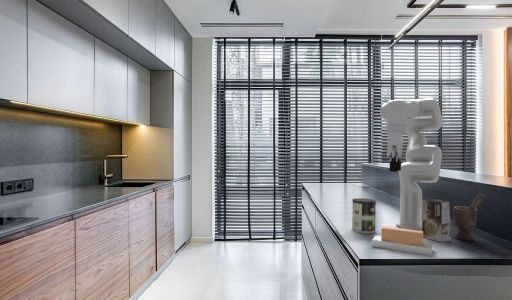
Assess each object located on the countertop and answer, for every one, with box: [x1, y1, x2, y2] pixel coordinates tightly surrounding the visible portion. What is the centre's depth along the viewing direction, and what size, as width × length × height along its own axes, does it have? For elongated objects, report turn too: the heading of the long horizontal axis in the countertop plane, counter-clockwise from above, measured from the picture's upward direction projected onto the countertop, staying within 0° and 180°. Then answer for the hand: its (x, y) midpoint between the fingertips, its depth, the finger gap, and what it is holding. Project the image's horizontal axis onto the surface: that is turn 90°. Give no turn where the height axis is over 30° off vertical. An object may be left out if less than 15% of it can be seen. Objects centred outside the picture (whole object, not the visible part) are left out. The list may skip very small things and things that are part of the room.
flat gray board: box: [371, 234, 433, 257], centre depth 121 cm, size 20×8×2 cm, turn 60°
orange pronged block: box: [380, 225, 424, 246], centre depth 121 cm, size 14×4×7 cm, turn 60°
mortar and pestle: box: [452, 193, 486, 242], centre depth 134 cm, size 12×9×20 cm
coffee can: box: [351, 197, 377, 234], centre depth 147 cm, size 10×10×14 cm
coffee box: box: [421, 198, 452, 243], centre depth 135 cm, size 9×6×16 cm
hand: (395, 171), depth 133 cm, fingers open, 9 cm apart
